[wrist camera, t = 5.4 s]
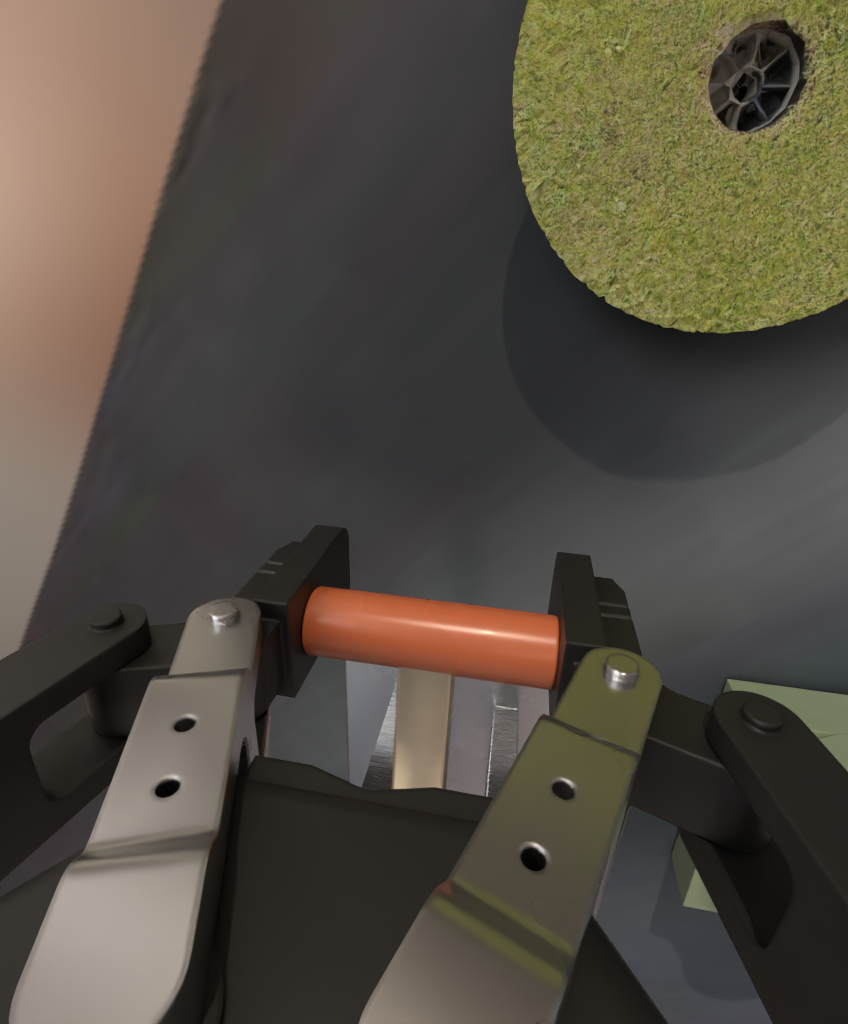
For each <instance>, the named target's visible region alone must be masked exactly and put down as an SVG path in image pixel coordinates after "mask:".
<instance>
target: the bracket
mask: <svg viewBox="0 0 848 1024" xmlns="http://www.w3.org/2000/svg"><path fill="white" fill-rule="evenodd" d="M397 682H398V668H395V667H388V666H381V665H374V664H367V663H360V662H354V661H347V660H345V684H346V716H347V749H348V781H349V782H350V783H352V784H354V785H356V786H359V787H361V788H364V789H367V790H387V789H391V788H392V770H393V753H394V735H395V717H396V700H397ZM542 714H546V715H548V716H549V691H548V690H546V689H539V688H532V687H525V686H518V685H512V684H505V683H498V682H491V681H484V680H477V679H470V678H463V677H457V676H455V688H454V700H453V712H452V724H451V735H450V747H449V759H448V771H447V783H446V789H447V790H452V791H458V792H464V793H469V794H475V795H480V796H486V797H492V798H494V796H495V795H496V793H497V791H498V789H499V787H500V786H501V784H502V782H503V780H504V779H505V777H506V775H507V773H508V772H509V770H510V768H511V766H512V764H513V763H514V761H515V759H516V757H517V756H518V754H519V752H520V750H521V749H522V747H523V745H524V743H525V741H526V740H527V738H528V736H529V734H530V733H531V731H532V729H533V727H534V726H535V724H536V722H537V720H538V719H539V717H540V716H541V715H542Z"/></svg>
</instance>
